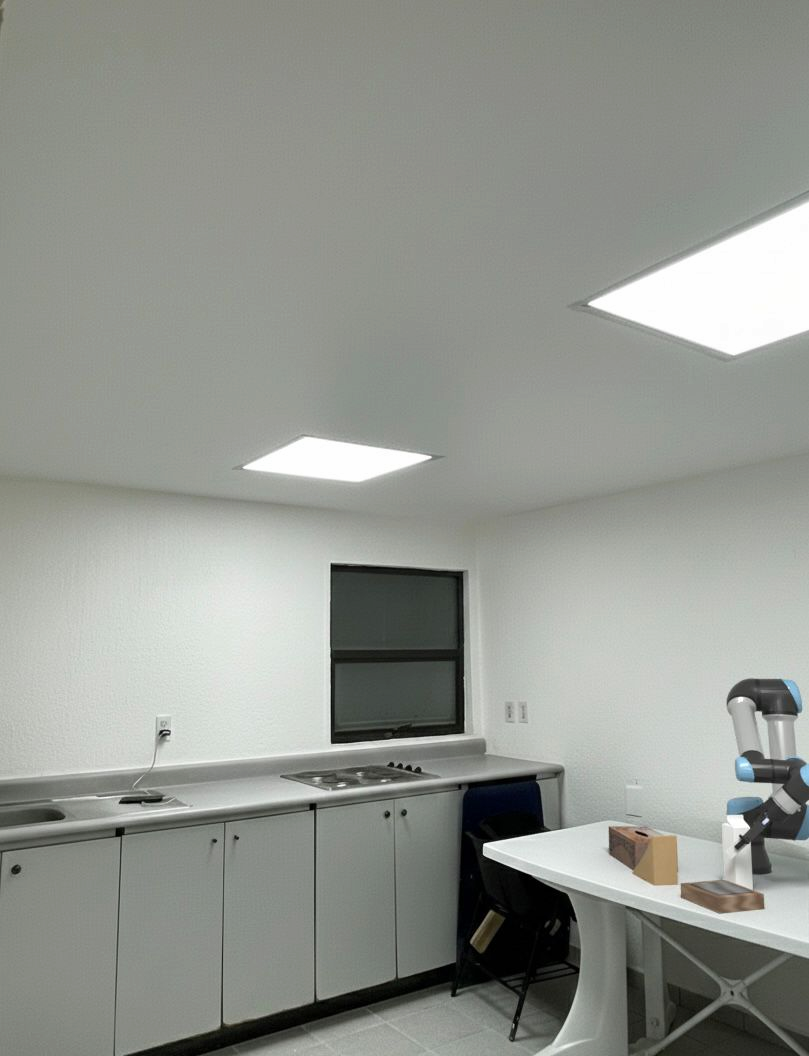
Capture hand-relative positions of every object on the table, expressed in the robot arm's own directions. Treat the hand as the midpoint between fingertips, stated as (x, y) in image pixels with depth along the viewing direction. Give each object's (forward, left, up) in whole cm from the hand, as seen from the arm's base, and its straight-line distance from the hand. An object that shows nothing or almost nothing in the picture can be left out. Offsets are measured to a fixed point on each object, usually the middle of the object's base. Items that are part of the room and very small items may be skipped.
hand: (731, 850), depth 251 cm
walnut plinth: (+15, +12, -11) cm, 22 cm away
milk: (-1, +1, -11) cm, 11 cm away
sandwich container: (+17, -17, -12) cm, 26 cm away
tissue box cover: (+8, -36, -12) cm, 38 cm away
